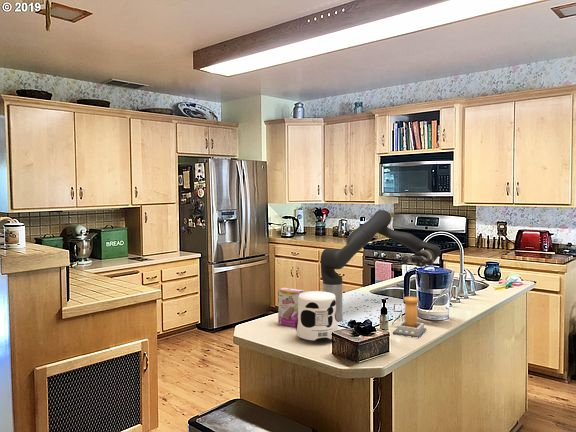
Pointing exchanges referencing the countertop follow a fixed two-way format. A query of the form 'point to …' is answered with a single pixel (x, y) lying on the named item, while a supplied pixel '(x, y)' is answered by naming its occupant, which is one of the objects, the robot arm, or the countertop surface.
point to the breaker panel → (409, 330)
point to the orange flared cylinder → (411, 311)
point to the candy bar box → (288, 306)
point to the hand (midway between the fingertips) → (413, 262)
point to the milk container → (316, 316)
